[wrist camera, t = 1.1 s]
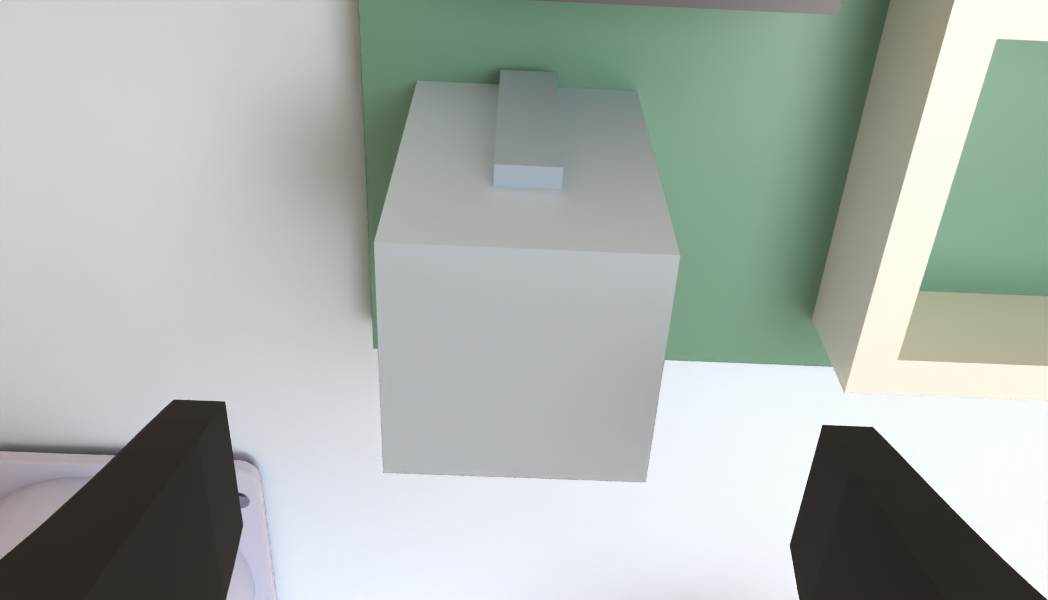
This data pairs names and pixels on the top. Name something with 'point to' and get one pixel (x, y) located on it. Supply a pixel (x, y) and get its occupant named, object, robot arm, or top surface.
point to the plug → (523, 283)
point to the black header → (734, 5)
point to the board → (736, 145)
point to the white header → (924, 220)
